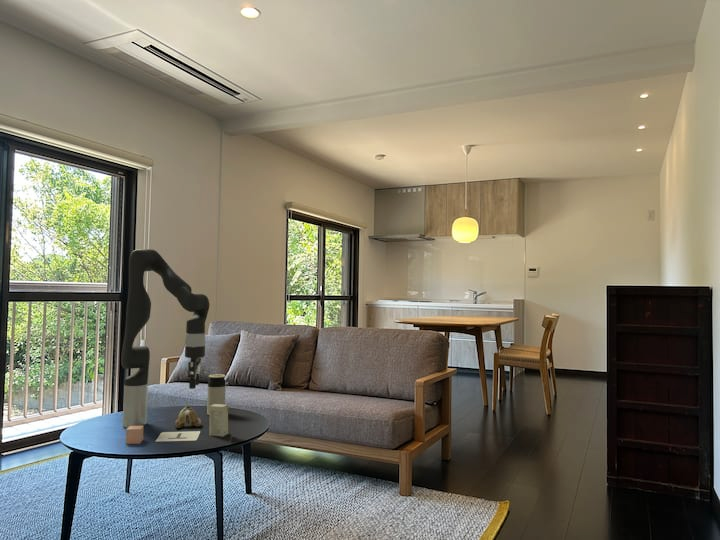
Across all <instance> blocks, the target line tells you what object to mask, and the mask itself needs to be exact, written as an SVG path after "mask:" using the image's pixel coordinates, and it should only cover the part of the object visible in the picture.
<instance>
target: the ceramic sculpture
mask: <svg viewBox="0 0 720 540" xmlns="http://www.w3.org/2000/svg"><path fill="white" fill-rule="evenodd" d="M177 416H178V418H177V419H175V421H174V427H175V428H177V429H181V428H182V427H185V428H186V427H188V428H189V427H193V426H194V427H197V428H198V427H200V426H202V420H201V418H199V417H198V415H197V412H195V409H193V408H192V407H191V406H189V405H186V406H185V407H184V408H182V409H181V410H180V412H179V414H178V415H177Z"/></svg>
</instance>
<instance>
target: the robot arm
mask: <svg viewBox="0 0 720 540" xmlns="http://www.w3.org/2000/svg"><path fill="white" fill-rule="evenodd" d="M151 271H152V272H154V273H156V274H157V275H158V276H160V277H161V279H162V283H163V286H164V288H165V289H166V290H167V291H168V292H169V293H170V294H171V295H172V296H173V297H174V298H176V300H177V301H178V302H179V304H180V306H181V307H182V308H183V309H184V310H186V312H190V313H193V314H192V317H190V318H188V319H187V320H186V327H185V328H186V330H185V339H184V343H185V344H184V357H185V358H188V359H190V361H189V362H188V363H187V364H188V368H187V369H188V371H187V378H188V380H189V381H188V382H189V385H188V386H189V387H188V388H189V390H194V389H196V386H199V385H200V375H201V372H202V371H201V369H202V367H201V366H202V363H201V361H202V358H204V357H205V356H206V321H207V318H208V314H209V310H210V300H209V298H208V296H207V295H206V294H202V293H193V292H192V287H191V286H190V285H189V283H187V282H186V281H185V280H184V279H182V278H181V277H180V276H179V275H178V274H177V273H176V272H174V270H173V269H172V268H171V267H170V265H169V264H168V263H167V261H166V260H165V259H164V258H163V256H161V254H160V253H159V252H158V251H156V250H155V249H153V248H152V249H151V248H142V249H141V248H140V249H135V250H133V251H132V252H131V253H130V256H129V260H128V296H127V303H126V304H127V305H126V314H125V316H126V317H125V329H124V336H123V344H122V350H121V356H120V364H121V367H122V368H123V369H127V370H128V369H130V370H131V369H138V370H137V371H136V372H135V373H133V374H131V375H129V376H126V377H125V378H124V380H123V383H124V384H123V403H122V405H123V408H122V409H123V410H122V427H124V428H126V429H127V428H128V427H129V426H144V425H147V414H148V413H147V412H148V409H147V408H148V388H149V387H148V386H149V385H148V382H149V369H150V359H151V358H150V357H151V353H150V352H151V351H150V349H149V347H148V346H146V345H137V346H134V343H135V339H136V338H137V336H138V334H139V333H140V332H141V331H142V329H144V327H145V326H146V325H147V323H148V322H149V320H150V318H151V310H152V301H151V298H150V295H149V293H148V292H147V290H146V287H145V284H144V282H145V281H144V279H145V272H151Z"/></svg>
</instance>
